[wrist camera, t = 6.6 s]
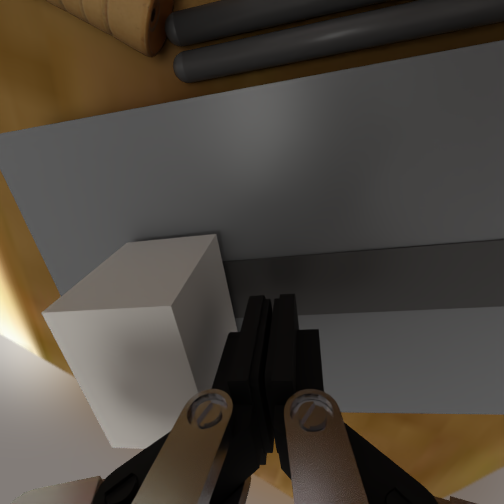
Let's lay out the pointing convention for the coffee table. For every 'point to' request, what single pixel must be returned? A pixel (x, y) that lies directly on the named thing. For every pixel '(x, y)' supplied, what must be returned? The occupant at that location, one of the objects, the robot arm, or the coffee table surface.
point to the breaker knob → (146, 333)
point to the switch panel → (311, 191)
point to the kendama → (125, 20)
